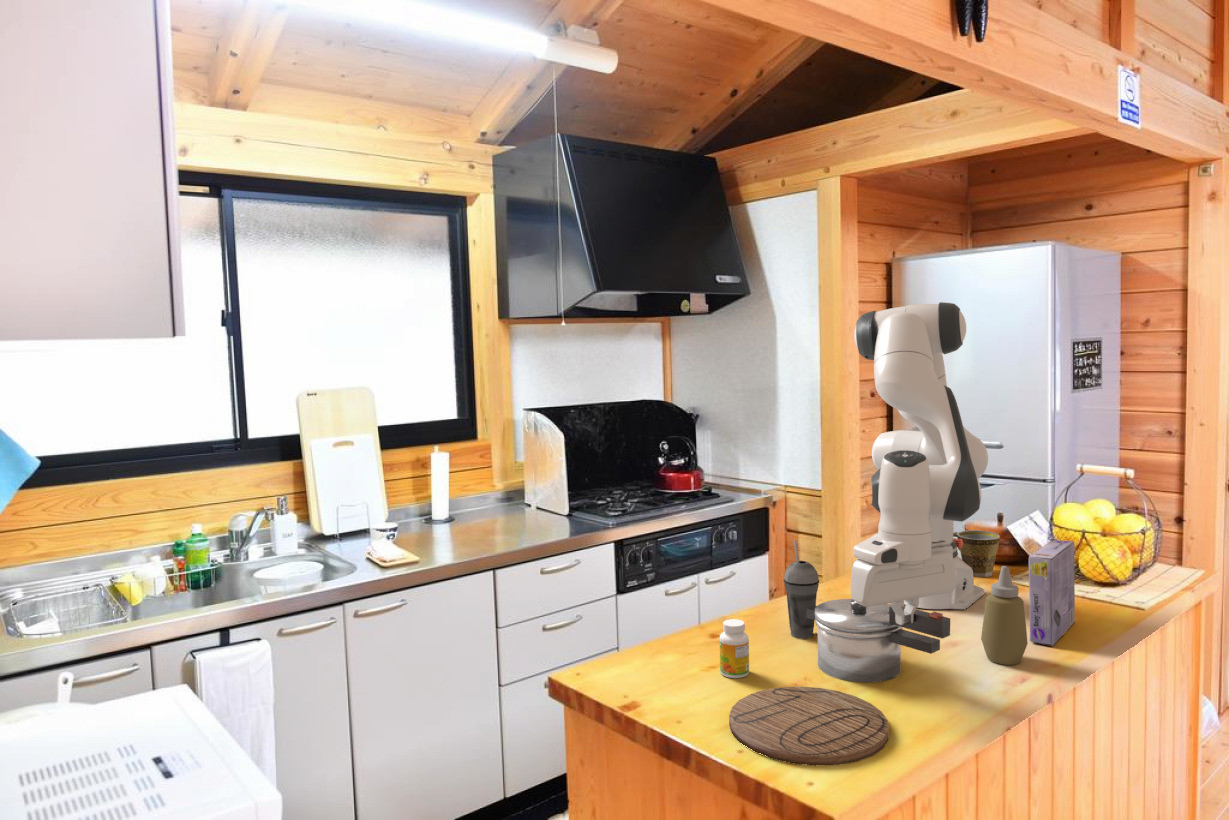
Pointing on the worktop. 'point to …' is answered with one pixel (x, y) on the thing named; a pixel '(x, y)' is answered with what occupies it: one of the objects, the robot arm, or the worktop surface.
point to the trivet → (809, 725)
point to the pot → (866, 652)
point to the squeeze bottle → (1004, 622)
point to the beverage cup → (801, 595)
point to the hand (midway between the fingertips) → (904, 623)
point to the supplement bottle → (734, 649)
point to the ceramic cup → (979, 550)
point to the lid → (877, 618)
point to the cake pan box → (1051, 591)
